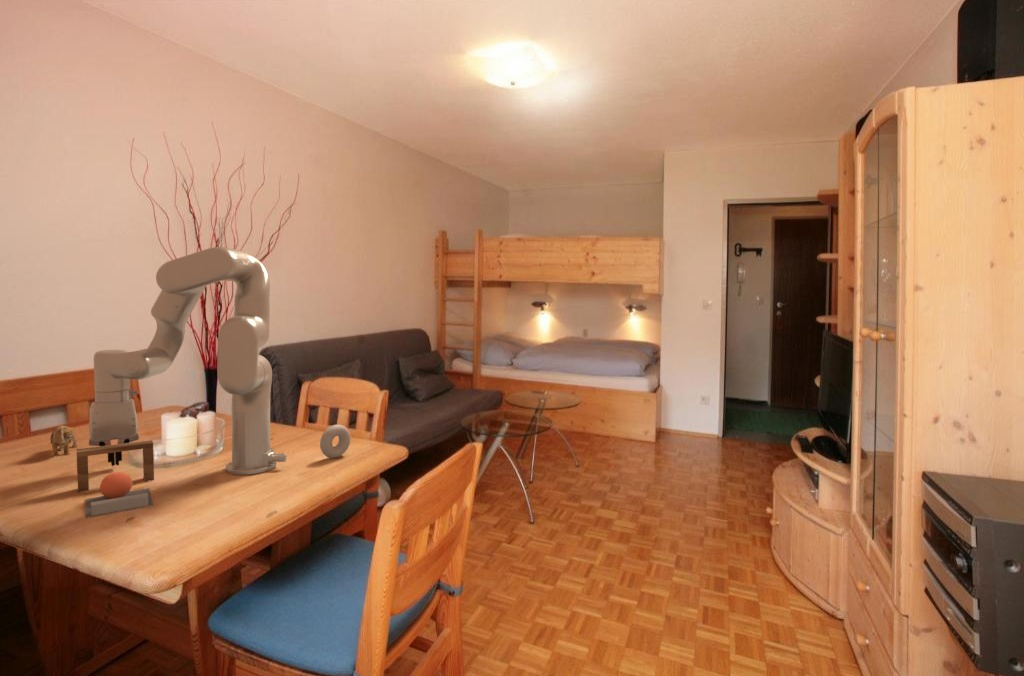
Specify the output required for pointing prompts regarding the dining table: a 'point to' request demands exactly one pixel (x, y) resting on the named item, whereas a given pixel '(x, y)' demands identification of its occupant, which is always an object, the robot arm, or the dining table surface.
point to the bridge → (85, 452)
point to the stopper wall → (119, 504)
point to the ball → (116, 485)
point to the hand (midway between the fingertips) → (115, 464)
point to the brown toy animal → (62, 439)
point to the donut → (328, 438)
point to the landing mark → (150, 501)
